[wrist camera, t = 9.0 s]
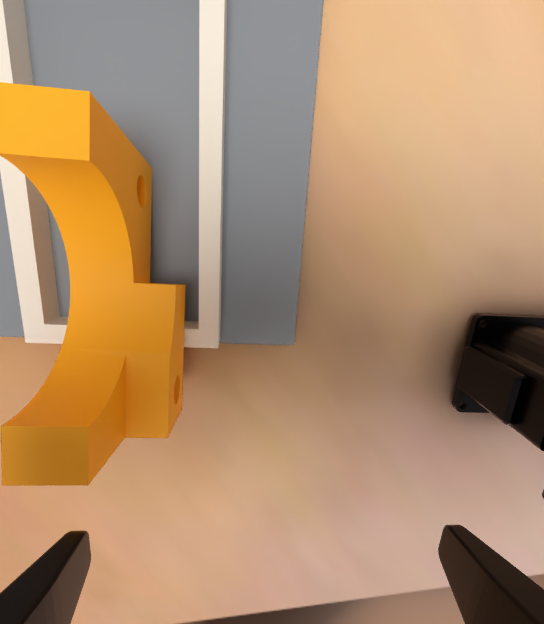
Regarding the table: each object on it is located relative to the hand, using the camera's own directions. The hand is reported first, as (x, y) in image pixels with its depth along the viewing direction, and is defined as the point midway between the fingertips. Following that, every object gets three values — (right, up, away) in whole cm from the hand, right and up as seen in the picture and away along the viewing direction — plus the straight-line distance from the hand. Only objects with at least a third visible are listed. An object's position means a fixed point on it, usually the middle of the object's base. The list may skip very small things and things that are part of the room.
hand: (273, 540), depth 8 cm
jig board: (-7, +13, +8) cm, 17 cm away
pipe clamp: (-7, +7, +8) cm, 13 cm away
